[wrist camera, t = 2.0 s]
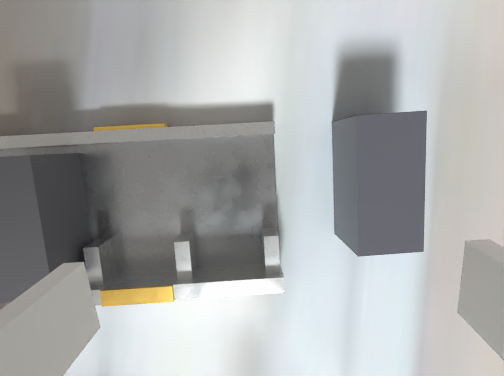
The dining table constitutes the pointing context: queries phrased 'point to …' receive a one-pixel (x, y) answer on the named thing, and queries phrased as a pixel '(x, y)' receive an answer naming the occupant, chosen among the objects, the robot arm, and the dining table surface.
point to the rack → (174, 209)
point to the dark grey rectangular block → (40, 219)
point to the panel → (380, 182)
